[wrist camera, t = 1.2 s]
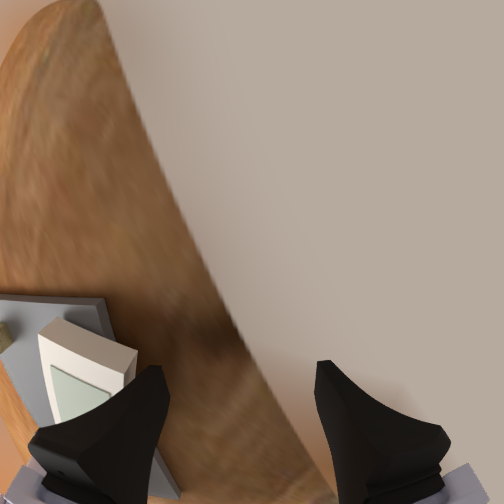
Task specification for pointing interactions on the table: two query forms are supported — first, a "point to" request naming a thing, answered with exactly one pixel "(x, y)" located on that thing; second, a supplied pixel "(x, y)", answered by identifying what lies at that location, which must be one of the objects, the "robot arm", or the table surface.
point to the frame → (82, 368)
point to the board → (30, 366)
